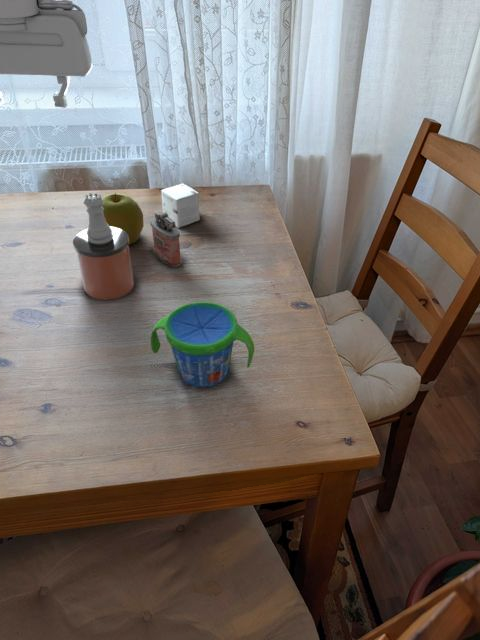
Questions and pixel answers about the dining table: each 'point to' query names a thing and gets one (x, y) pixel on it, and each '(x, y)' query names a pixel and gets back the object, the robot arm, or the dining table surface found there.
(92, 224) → the rook chess piece
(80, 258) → the canister
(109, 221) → the apple
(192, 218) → the white cardboard box
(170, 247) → the lighter
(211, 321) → the snack cup
